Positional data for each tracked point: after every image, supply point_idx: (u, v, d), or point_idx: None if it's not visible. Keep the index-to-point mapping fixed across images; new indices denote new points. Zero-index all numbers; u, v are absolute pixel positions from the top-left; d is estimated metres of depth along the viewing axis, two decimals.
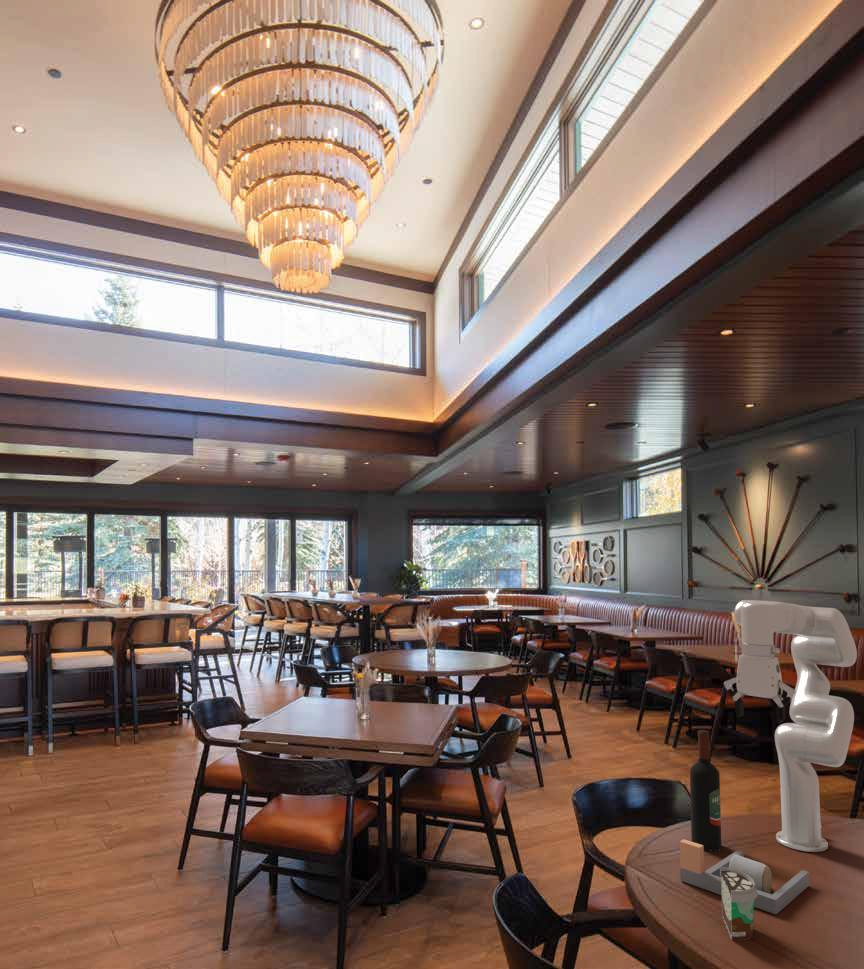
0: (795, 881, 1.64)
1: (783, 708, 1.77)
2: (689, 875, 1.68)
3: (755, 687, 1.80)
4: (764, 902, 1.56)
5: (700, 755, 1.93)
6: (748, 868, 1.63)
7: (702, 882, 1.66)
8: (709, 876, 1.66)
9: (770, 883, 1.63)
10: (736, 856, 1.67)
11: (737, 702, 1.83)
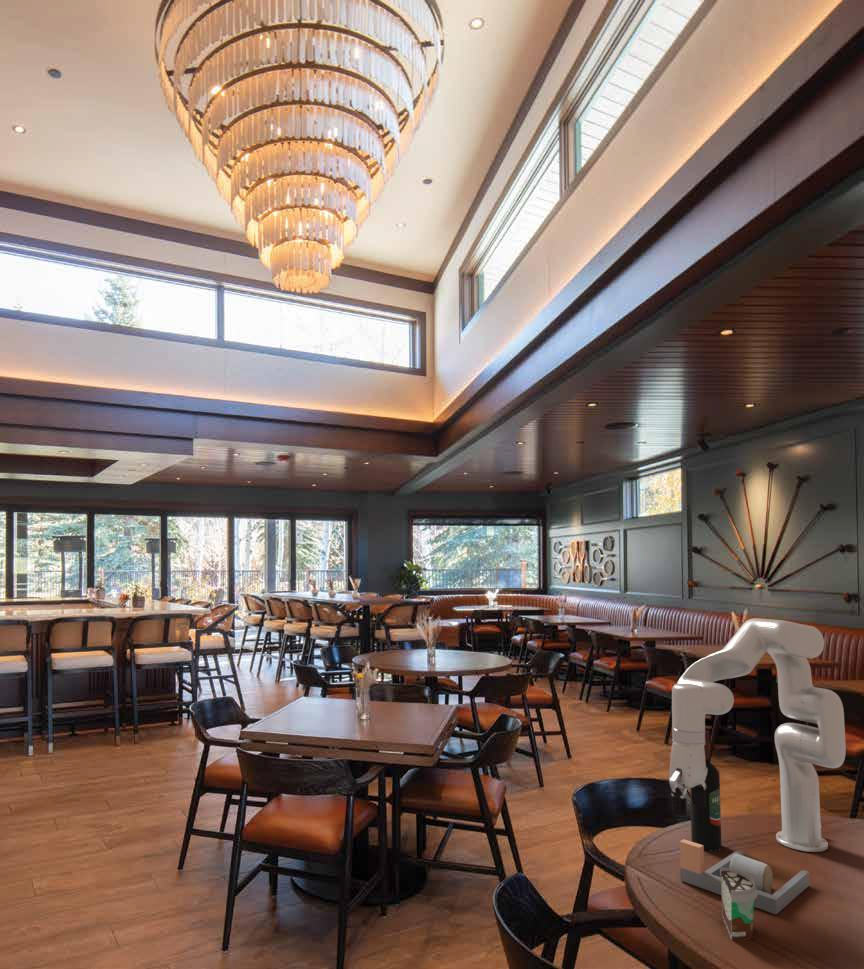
0: (795, 881, 1.64)
1: None
2: (689, 875, 1.68)
3: (698, 776, 1.70)
4: (764, 902, 1.56)
5: None
6: (749, 868, 1.63)
7: (702, 882, 1.66)
8: (709, 876, 1.66)
9: (771, 882, 1.64)
10: (737, 855, 1.67)
11: (685, 799, 1.66)
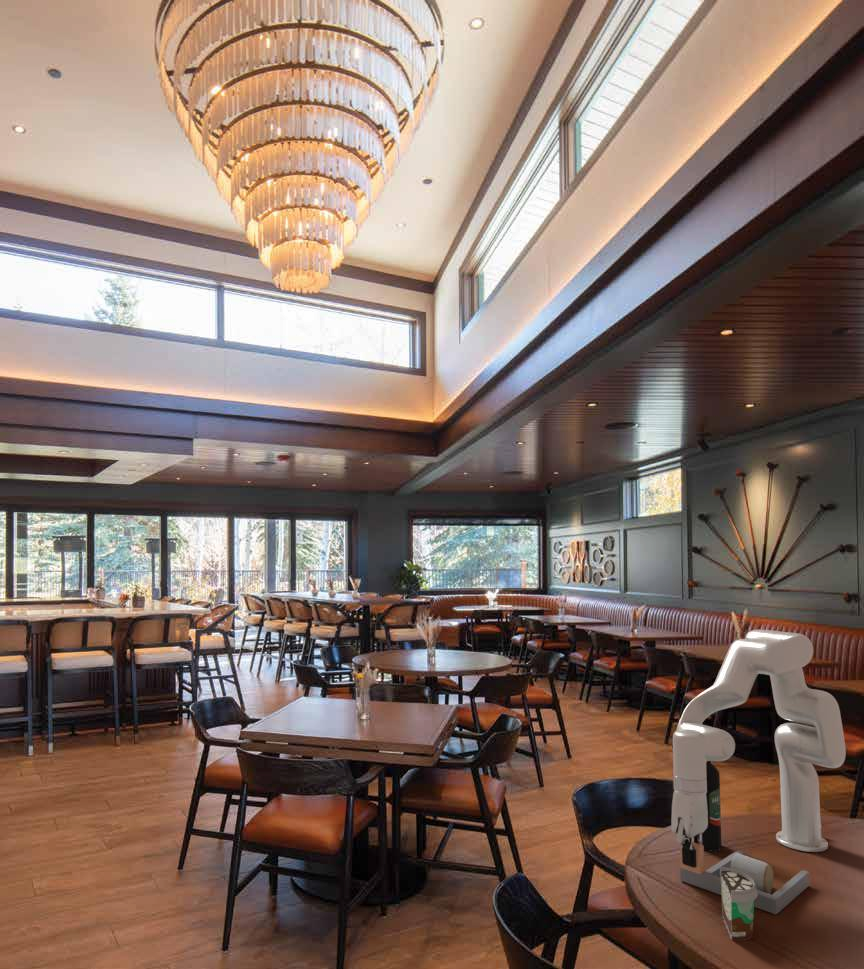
0: (795, 881, 1.64)
1: None
2: (689, 875, 1.68)
3: (700, 824, 1.69)
4: (764, 902, 1.56)
5: None
6: (750, 867, 1.63)
7: (702, 882, 1.66)
8: (709, 876, 1.66)
9: (771, 881, 1.64)
10: (738, 855, 1.67)
11: (695, 851, 1.68)
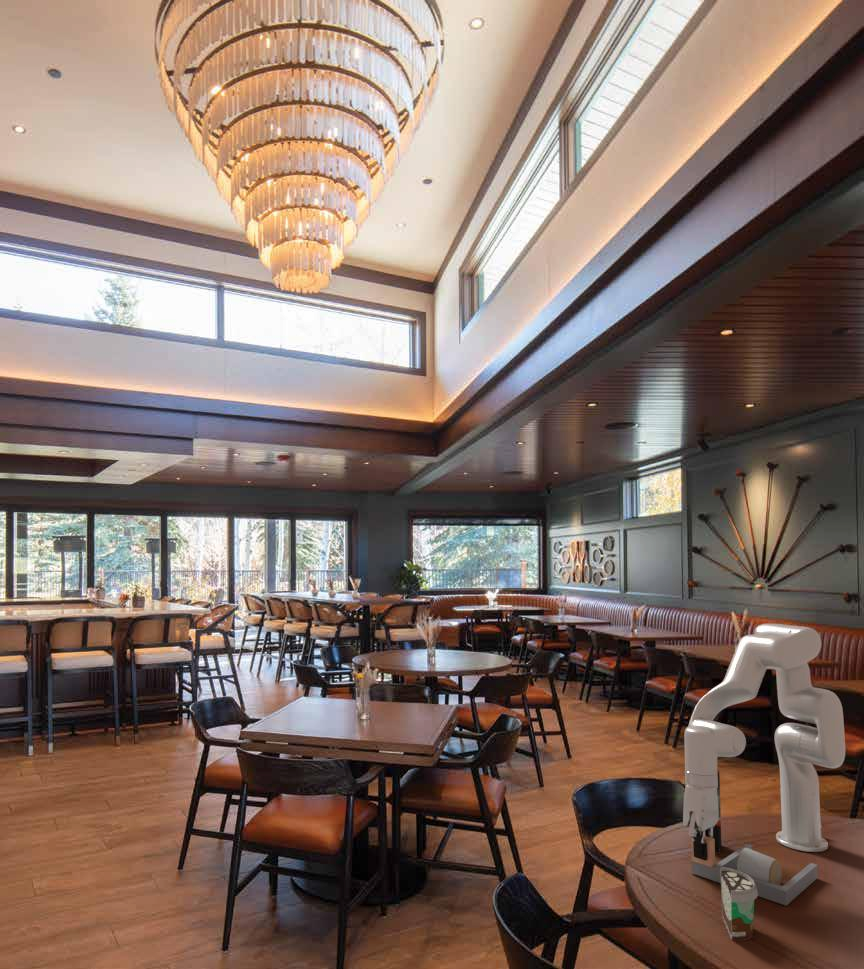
0: (804, 873, 1.68)
1: None
2: (700, 868, 1.72)
3: (711, 818, 1.73)
4: (774, 894, 1.60)
5: None
6: (756, 862, 1.66)
7: (713, 875, 1.70)
8: None
9: (780, 877, 1.66)
10: (746, 849, 1.70)
11: (706, 844, 1.72)
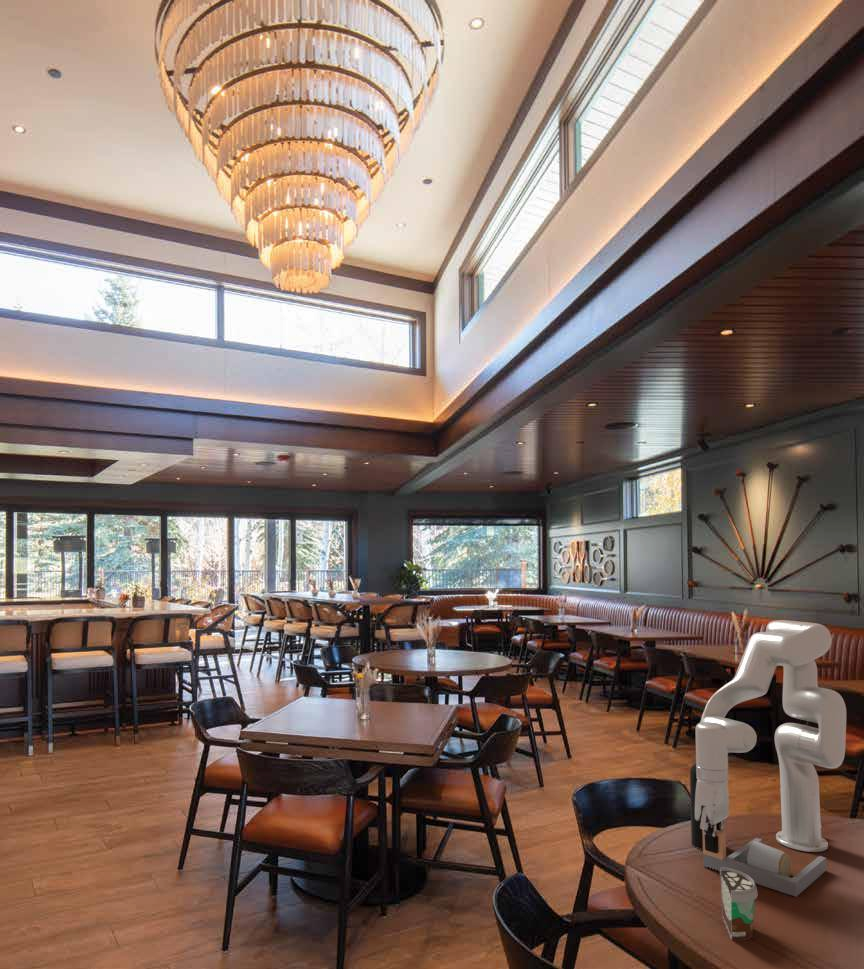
0: (813, 866, 1.72)
1: None
2: (711, 861, 1.77)
3: (722, 812, 1.77)
4: (784, 885, 1.64)
5: None
6: (766, 854, 1.71)
7: (724, 867, 1.74)
8: (731, 861, 1.74)
9: (789, 870, 1.71)
10: (756, 843, 1.75)
11: (717, 837, 1.76)
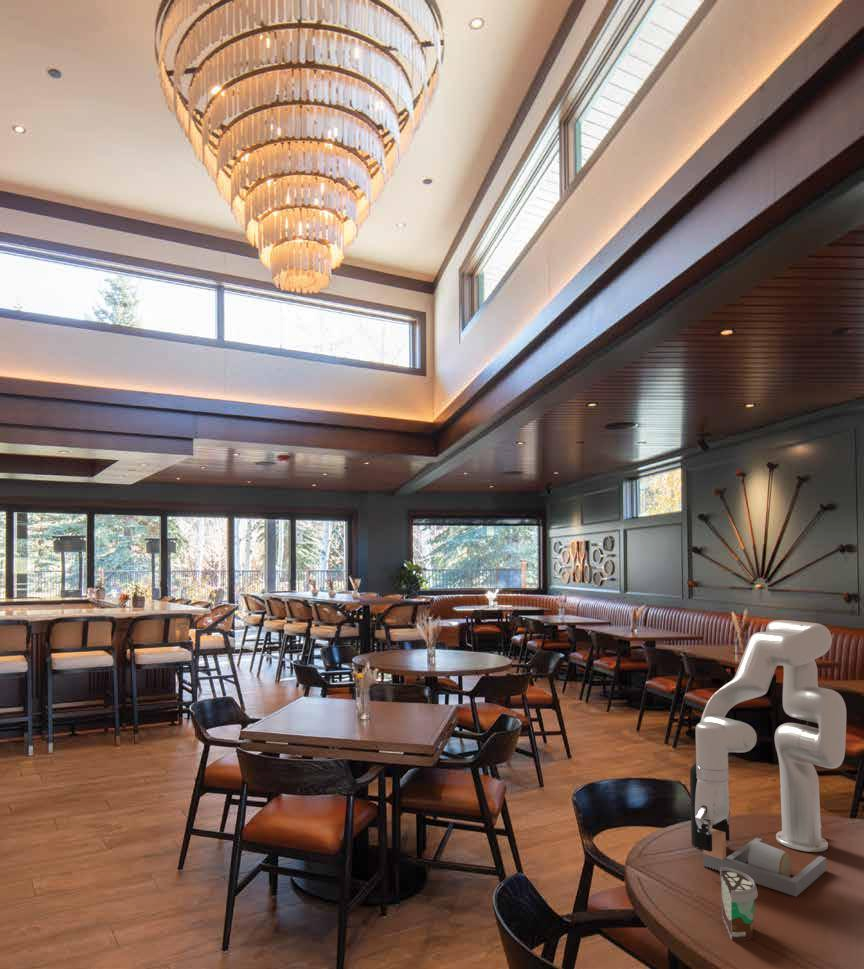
0: (813, 866, 1.72)
1: None
2: (712, 861, 1.77)
3: (722, 812, 1.77)
4: (784, 885, 1.64)
5: None
6: (767, 854, 1.71)
7: (724, 867, 1.74)
8: (731, 861, 1.74)
9: (790, 869, 1.71)
10: (757, 842, 1.75)
11: (711, 835, 1.74)
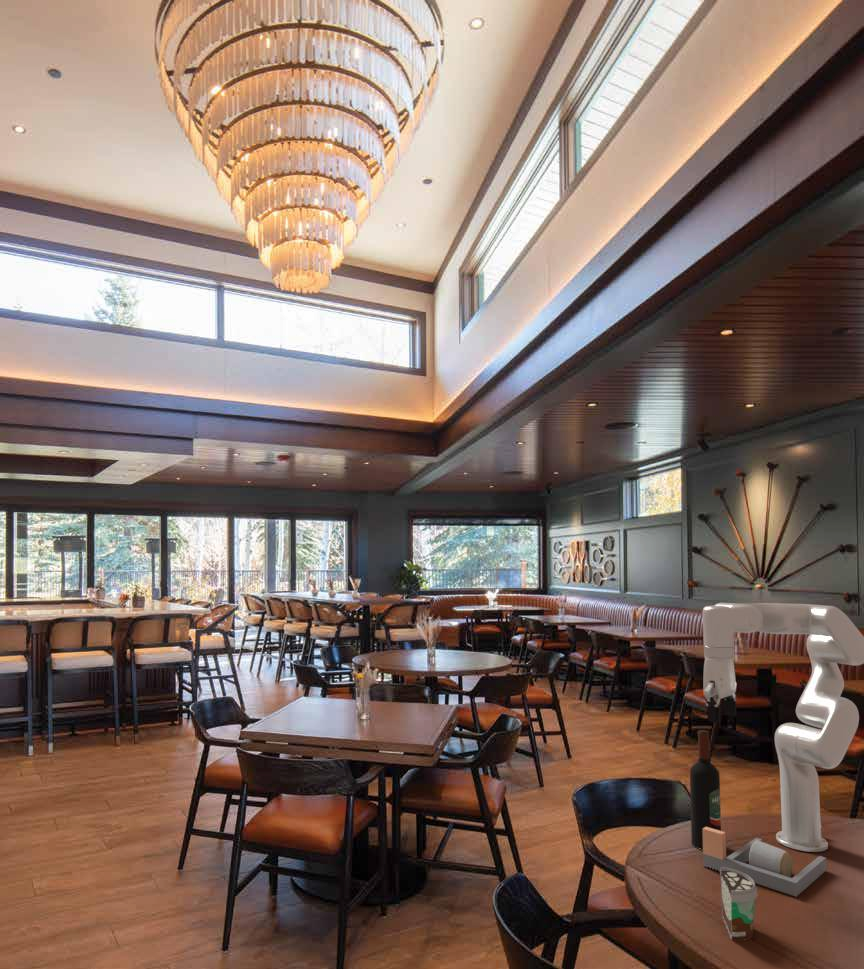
0: (813, 866, 1.72)
1: None
2: (712, 861, 1.77)
3: (729, 687, 1.86)
4: (784, 885, 1.64)
5: (700, 755, 1.93)
6: (768, 853, 1.71)
7: (724, 867, 1.74)
8: (731, 861, 1.74)
9: (790, 869, 1.71)
10: (758, 842, 1.75)
11: (719, 708, 1.83)
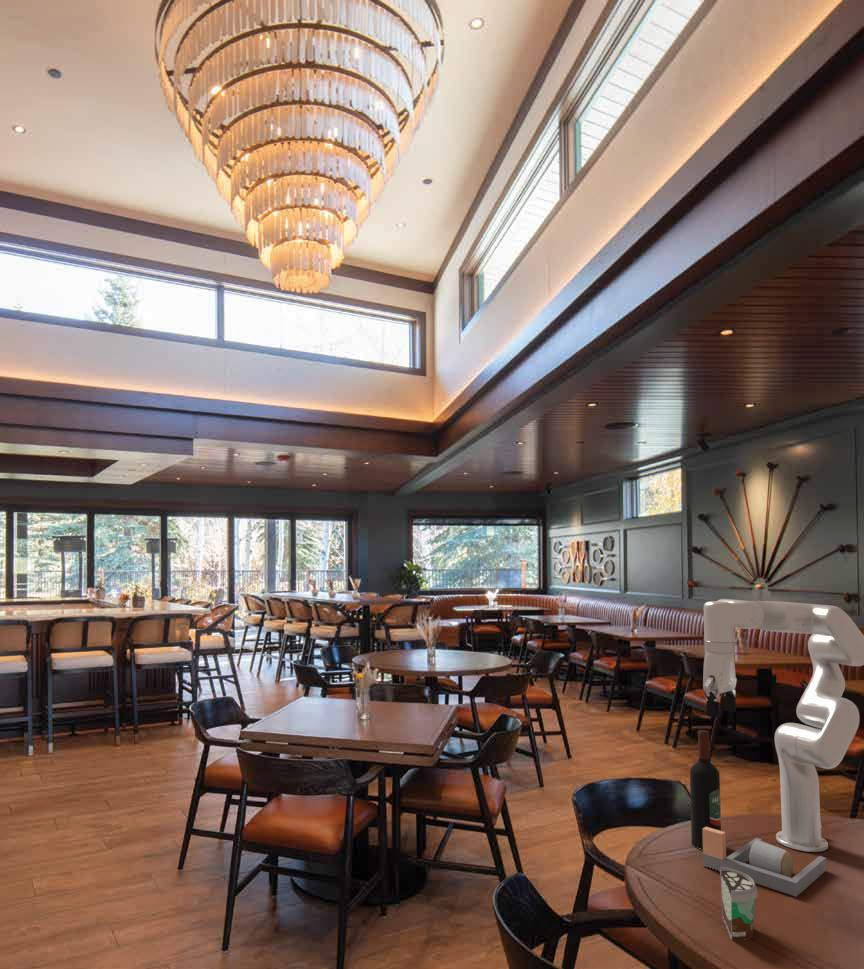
0: (813, 866, 1.72)
1: None
2: (712, 861, 1.77)
3: (729, 683, 1.87)
4: (784, 885, 1.64)
5: (700, 755, 1.93)
6: (768, 853, 1.71)
7: (724, 867, 1.74)
8: (731, 861, 1.74)
9: (791, 868, 1.71)
10: (758, 841, 1.75)
11: (718, 703, 1.83)
